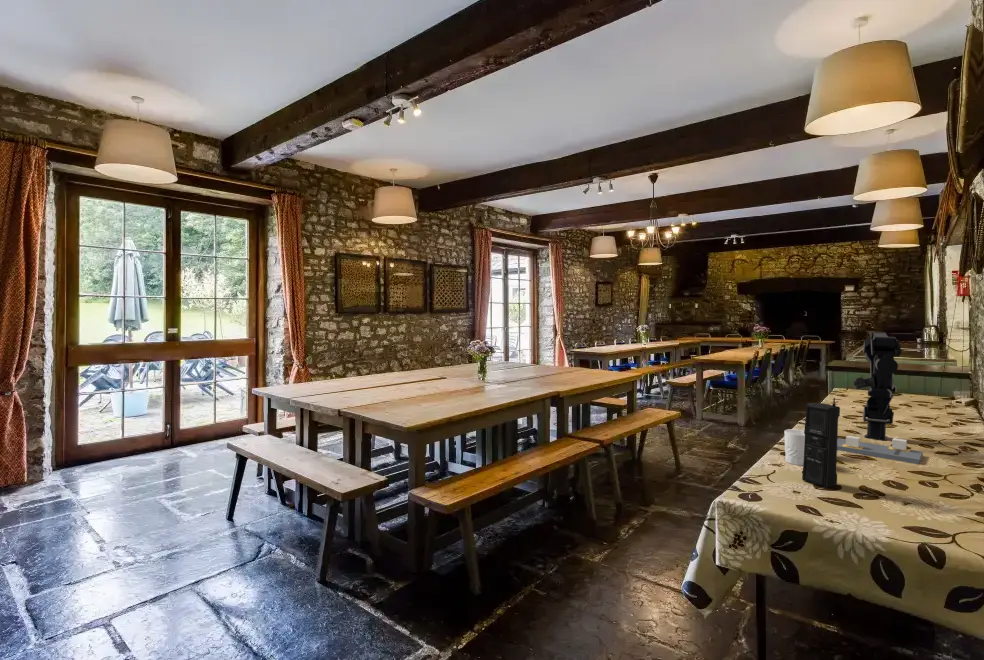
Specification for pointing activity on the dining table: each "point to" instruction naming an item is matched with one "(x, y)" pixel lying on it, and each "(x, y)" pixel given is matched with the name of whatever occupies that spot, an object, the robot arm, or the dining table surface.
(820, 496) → the dining table surface
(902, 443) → the slider
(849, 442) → the slider
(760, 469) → the dining table surface
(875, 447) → the switch panel
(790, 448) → the white cup
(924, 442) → the dining table surface
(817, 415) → the portable radio
